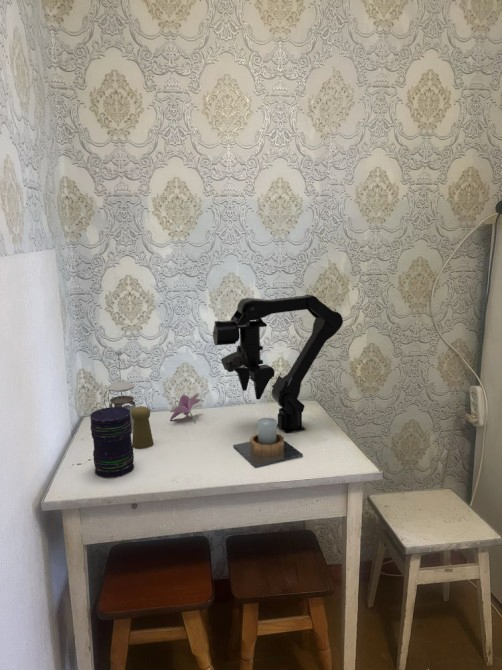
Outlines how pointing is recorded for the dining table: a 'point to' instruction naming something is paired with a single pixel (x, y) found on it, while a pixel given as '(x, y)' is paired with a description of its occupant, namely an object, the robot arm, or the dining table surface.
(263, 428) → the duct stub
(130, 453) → the storage jar
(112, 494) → the dining table surface
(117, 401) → the french press
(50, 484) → the dining table surface
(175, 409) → the lily
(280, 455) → the duct collar
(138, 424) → the cork
